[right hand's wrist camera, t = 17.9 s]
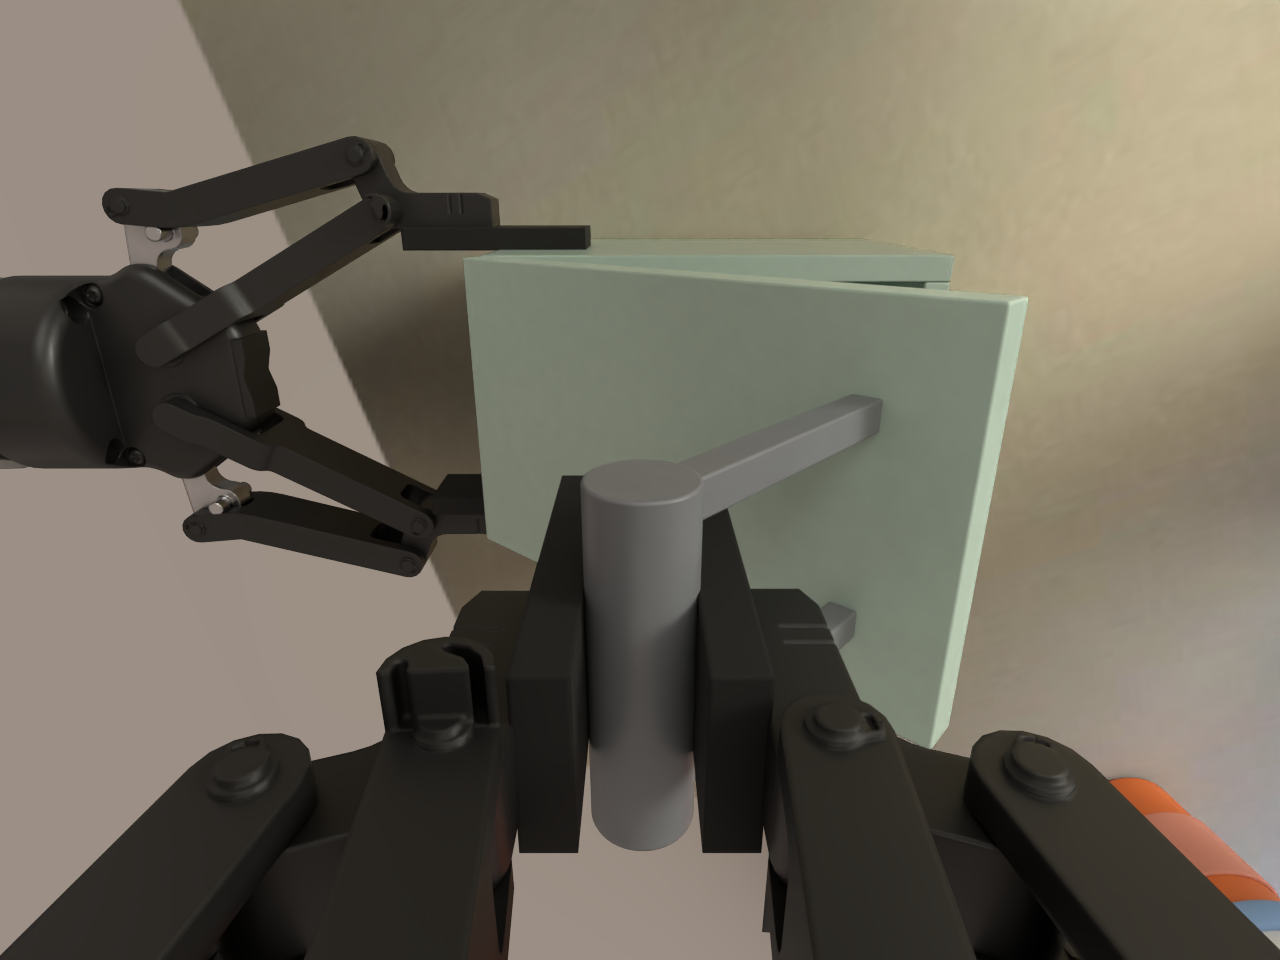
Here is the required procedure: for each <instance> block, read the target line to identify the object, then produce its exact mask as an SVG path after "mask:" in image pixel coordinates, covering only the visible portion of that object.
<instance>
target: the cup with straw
mask: <svg viewBox="0 0 1280 960" xmlns="http://www.w3.org/2000/svg"><path fill="white" fill-rule="evenodd" d="M1109 782H1110V783H1111V784H1112V785H1113V786H1114V787H1115V788H1116V789H1117V790H1118V791H1119V792H1120V793H1121V794H1122V795H1123V796H1124V797H1125V798H1126V799H1128V800H1129V801H1130V802H1131V803H1132V804H1133V805H1134V806H1135V807H1136V808H1137V809H1138V810H1139V811H1140V812H1141V813H1142V814H1143V815H1144V816H1145V817H1146V818H1147V819H1148V820H1149V821H1150V822H1151V823H1152V824H1153V825H1154V826H1155V827H1156V828H1157V829H1158V830H1159V831H1160V832H1161V833H1162V834H1163V835H1164V836H1165V837H1166V838H1167V839H1168V840H1169V841H1170V842H1171V843H1172V844H1173V845H1174V846H1175V847H1176V848H1177V849H1178V850H1179V851H1180V852H1181V853H1182V854H1183V855H1184V856H1185V857H1186V858H1187V859H1188V860H1189V861H1191V862H1192V863H1193V864H1194V865H1195V866H1196V867H1197V868H1198V869H1199V870H1200V871H1201V872H1202V873H1203V874H1204V875H1205V876H1206V877H1207V878H1208V879H1209V880H1210V881H1211V882H1212V883H1213V884H1214V885H1215V886H1216V887H1217V888H1218V889H1219V890H1220V891H1221V892H1222V893H1223V894H1224V895H1225V896H1226V897H1227V898H1228V899H1229V900H1230V901H1231V902H1232V903H1233V904H1234V905H1235V906H1236V907H1237V908H1238V909H1239V910H1240V911H1241V912H1242V913H1243V914H1244V915H1245V916H1246V917H1247V918H1248V919H1249V920H1250V921H1251V922H1252V923H1254V924H1255V925H1256V926H1257V927H1258V928H1259V929H1260V930H1261V931H1262V932H1263V933H1264V934H1265V935H1266V936H1267V937H1268V938H1269V939H1270V940H1271V941H1272V942H1273V943H1274V944H1275V945H1276V946H1277V947H1278V948H1279V949H1280V898H1279V896H1278V894H1277V893H1276V891H1275V890H1274V889H1273V888H1272V887H1271V886H1270V885H1269V884H1268V883H1267V882H1266V881H1265V880H1264V879H1263V878H1262V877H1261V876H1260V875H1259V874H1258V873H1257V872H1255V871H1254V870H1253V869H1252V868H1251V867H1250V866H1249V865H1248V864H1247V863H1246V862H1245V861H1244V860H1243V859H1242V858H1240V857H1239V856H1238V855H1237V854H1236V853H1235V852H1234V851H1233V850H1232V849H1231V848H1230V847H1229V846H1228V845H1227V844H1225V843H1224V842H1223V841H1222V840H1221V839H1220V838H1219V837H1218V836H1217V835H1216V834H1215V833H1214V832H1213V831H1212V830H1210V829H1209V828H1208V827H1207V826H1206V825H1205V824H1204V823H1203V822H1201V821H1200V820H1198V819H1196V818H1194V817H1192V816H1191V815H1190V814H1189V813H1188V812H1187V811H1185V810H1184V809H1183V808H1182V807H1181V806H1180V805H1179V804H1178V803H1177V802H1176V801H1175V800H1174V799H1173V798H1172V797H1170V796H1169V795H1168V794H1167V793H1166V792H1165V791H1164V790H1163V789H1162V788H1160V787H1159V786H1158V785H1156V784H1154V783H1152V782H1150V781H1147V780H1144V779H1138V778H1121V779H1115V780H1111V781H1109Z"/></svg>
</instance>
